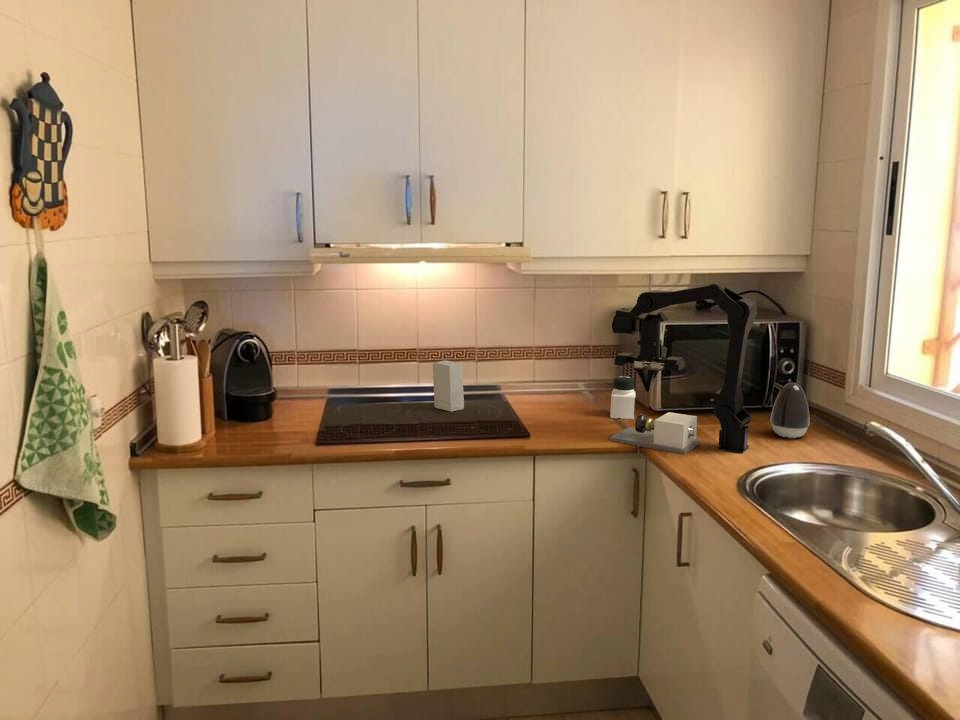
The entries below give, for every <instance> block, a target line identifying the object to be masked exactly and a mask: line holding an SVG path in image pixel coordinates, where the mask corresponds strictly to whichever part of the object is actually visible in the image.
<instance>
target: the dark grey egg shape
mask: <svg viewBox="0 0 960 720" xmlns="http://www.w3.org/2000/svg"><path fill="white" fill-rule="evenodd" d="M773 386H774V387H775V388H776V389H778V390H779V392H778V394H777V396H776V398H775V401H774V403H773V407H772V411H771V415H770V423H771V428H772V430H773V431H774V433H775V434H776V435H778V436H780V437H781V436H782V438H785V437H788V438H787V439H797V437H798V438H800V437H802V436H803V435H805V433H806V432H807V430H808V428H809V427H810V421H811V420H810V409H809V403H808V400H807V397H806V393H805V391H804V389H803V387H802V386H801V385H800V384H798V383H796V382H789V383H786V384H785V385H784V386H783V385H781V384H780V383H778V382H774V384H773Z"/></svg>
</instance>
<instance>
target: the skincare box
mask: <svg viewBox="0 0 960 720" xmlns="http://www.w3.org/2000/svg"><path fill="white" fill-rule="evenodd" d="M463 373H464V372H463V362H457V361H451V360H440V361H436V362H433V363H432V376H433V377H432V379H433V399H434V408H435V409H439V410H444V411H447V412H454V411H461V410H464V409H465V399H464V398H465V397H464V395H465V394H464V378H463V377H464V376H463Z"/></svg>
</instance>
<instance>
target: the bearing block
mask: <svg viewBox="0 0 960 720" xmlns="http://www.w3.org/2000/svg"><path fill="white" fill-rule="evenodd" d="M654 421H655V426H654V430H651V431H650V432H649V431H646V430H645V432H644V433H640V432H636V429H635V427H629V426H628V427H626V428H624V429H623V430H621V431H619V432H617V433H615V434H614V435H612V436H610V439H609V441H610V442H614V443H622V444H627V445H631V446H638V447H644V448H648V449H654V450H660V451H665V452H670V453H676V454H681V455H686V454H688V453H689V452H690V451H692V450H693V449H695V448H696V447H697V446H698V445H700V444H701V439H699V438H697V427H698V425H697V424H698V422H697V421H698V416H697V415H689V414H682V413H676V412H670V411H668V412H667V413H665V414H663V415H661V416H660V417H658V418H656V419H655V420H654ZM688 427H693V428H695V435H694V437H692V436H688Z"/></svg>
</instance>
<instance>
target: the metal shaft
mask: <svg viewBox="0 0 960 720" xmlns="http://www.w3.org/2000/svg"><path fill="white" fill-rule="evenodd" d="M634 423H635V424H634V428H635V429H636V432H640V433H644V432H645V430H646V431H649V432H650V431H654V426H655V420H654V419H653V418H650V417H648V416H647V415H646V414H642V413H638V415H637V416H636V418H635V422H634ZM694 435H695V428H693V427H688V436H692V437H694Z"/></svg>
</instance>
